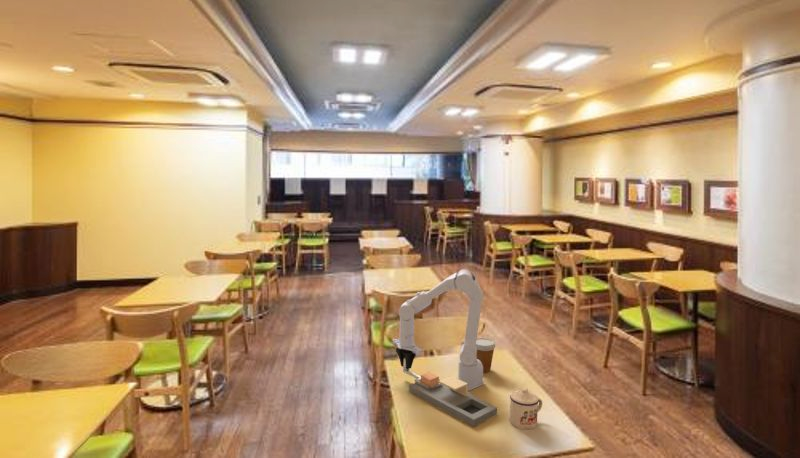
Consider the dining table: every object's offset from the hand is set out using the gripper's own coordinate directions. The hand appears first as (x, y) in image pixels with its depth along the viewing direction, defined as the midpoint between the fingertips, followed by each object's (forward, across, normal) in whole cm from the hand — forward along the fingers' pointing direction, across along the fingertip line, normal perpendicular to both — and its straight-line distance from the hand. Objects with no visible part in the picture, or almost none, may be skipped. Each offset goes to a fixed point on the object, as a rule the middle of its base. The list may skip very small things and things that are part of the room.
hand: (406, 367), depth 186 cm
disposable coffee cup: (+5, +14, +30) cm, 33 cm away
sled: (+2, +8, 0) cm, 8 cm away
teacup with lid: (+5, +48, +10) cm, 50 cm away
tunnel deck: (+5, +24, 0) cm, 24 cm away
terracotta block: (+2, +13, 0) cm, 13 cm away
